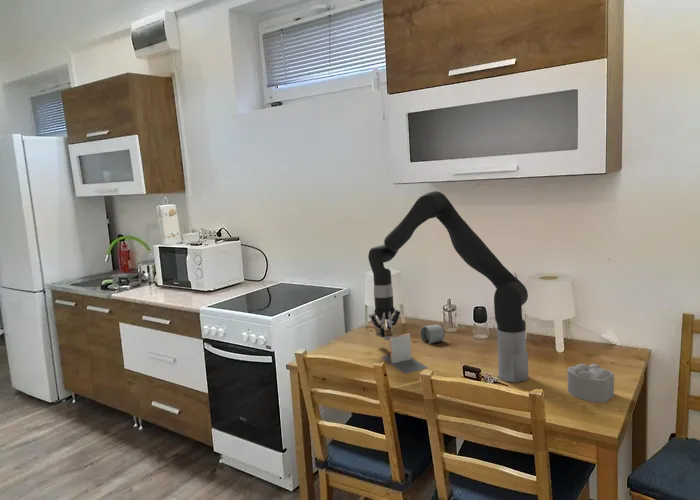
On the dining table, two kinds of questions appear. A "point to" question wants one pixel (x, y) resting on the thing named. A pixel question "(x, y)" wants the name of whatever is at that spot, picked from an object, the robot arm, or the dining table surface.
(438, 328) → the ceramic mug
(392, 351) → the tile
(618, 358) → the dining table surface
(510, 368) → the robot arm
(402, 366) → the mat
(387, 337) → the turner
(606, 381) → the lumpy-topped squat cylinder
